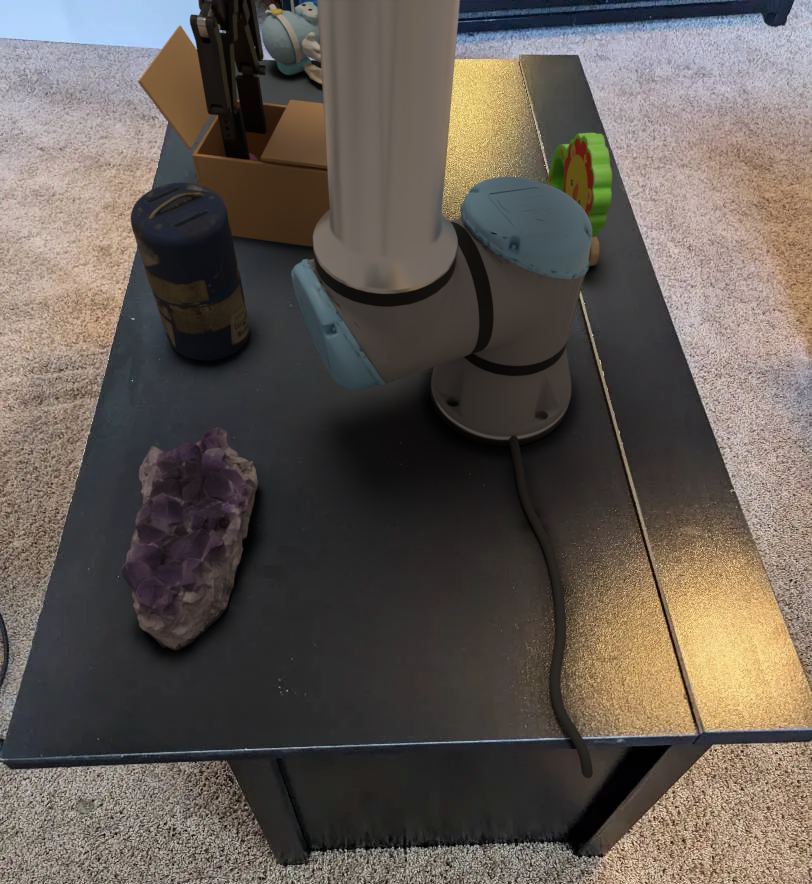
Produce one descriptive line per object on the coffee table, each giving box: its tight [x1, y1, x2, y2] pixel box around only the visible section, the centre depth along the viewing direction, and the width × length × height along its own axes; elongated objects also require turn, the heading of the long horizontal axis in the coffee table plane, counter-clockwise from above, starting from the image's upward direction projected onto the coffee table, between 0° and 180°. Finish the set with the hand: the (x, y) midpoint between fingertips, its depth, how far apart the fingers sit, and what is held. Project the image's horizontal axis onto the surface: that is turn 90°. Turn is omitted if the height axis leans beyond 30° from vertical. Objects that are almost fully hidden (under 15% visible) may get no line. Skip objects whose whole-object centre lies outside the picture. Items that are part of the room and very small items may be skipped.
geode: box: [119, 426, 259, 652], centre depth 69 cm, size 20×12×10 cm, turn 179°
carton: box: [191, 99, 330, 248], centre depth 97 cm, size 13×17×11 cm
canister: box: [130, 182, 251, 361], centre depth 81 cm, size 10×10×18 cm
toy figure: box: [261, 0, 322, 86], centre depth 118 cm, size 17×10×15 cm
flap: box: [137, 24, 212, 150], centre depth 90 cm, size 13×8×1 cm
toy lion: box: [546, 132, 613, 267], centre depth 92 cm, size 16×5×15 cm, turn 9°
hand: (247, 146), depth 95 cm, fingers open, 6 cm apart
